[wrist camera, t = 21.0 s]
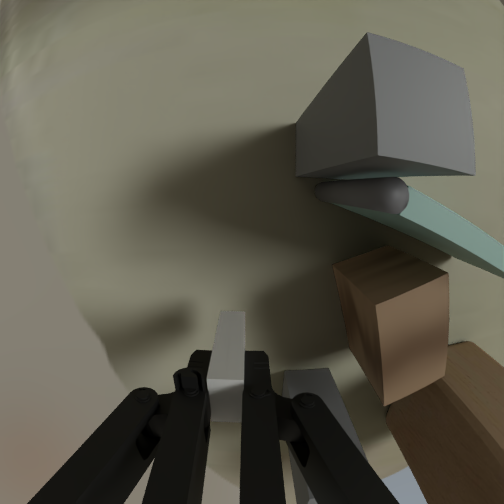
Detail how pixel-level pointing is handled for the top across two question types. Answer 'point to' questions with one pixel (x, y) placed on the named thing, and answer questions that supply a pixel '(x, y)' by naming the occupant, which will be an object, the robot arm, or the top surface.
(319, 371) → the post
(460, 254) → the gate
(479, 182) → the top surface
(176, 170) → the top surface
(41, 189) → the top surface
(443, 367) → the brown rectangular block
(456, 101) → the hinge post
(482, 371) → the wooden block
